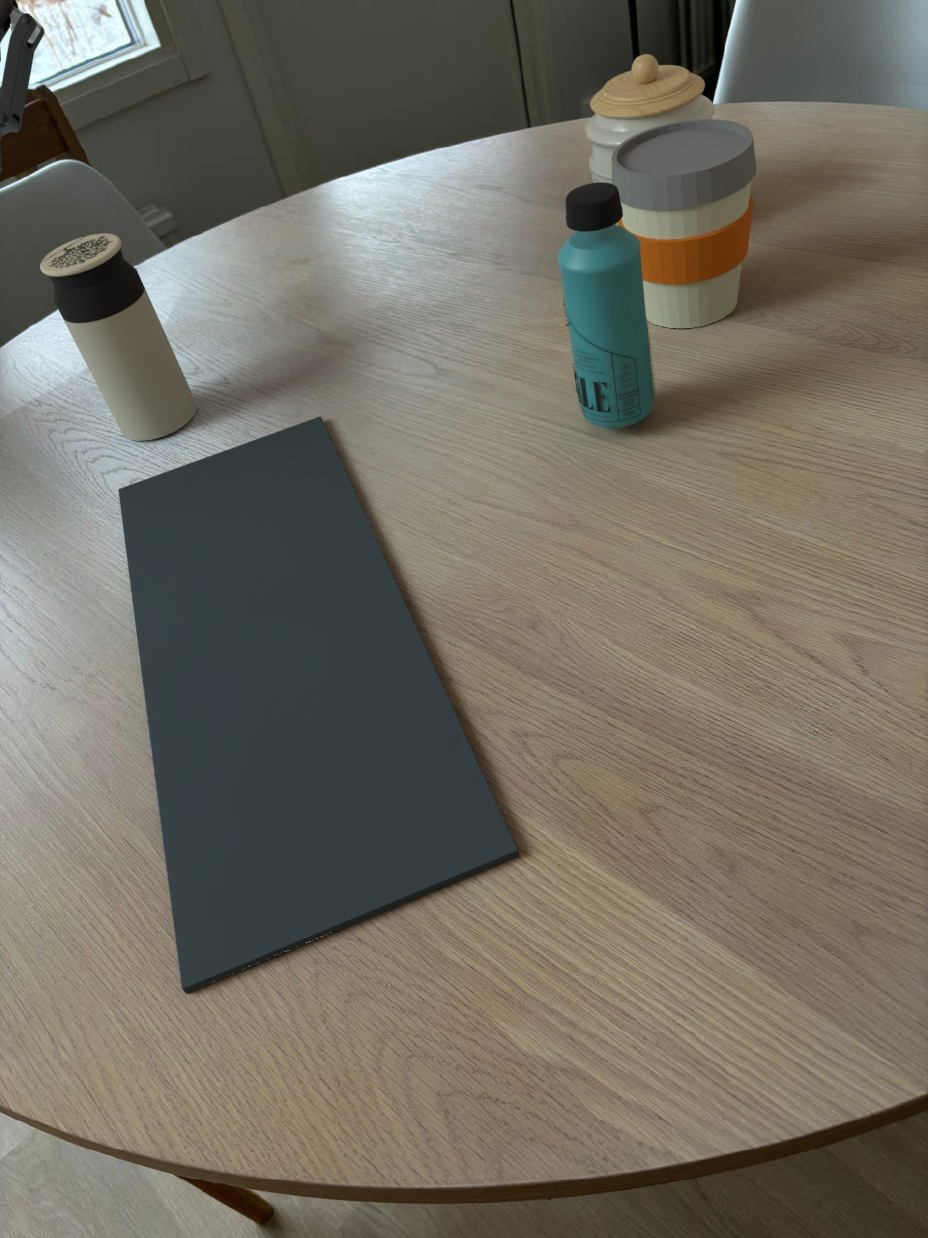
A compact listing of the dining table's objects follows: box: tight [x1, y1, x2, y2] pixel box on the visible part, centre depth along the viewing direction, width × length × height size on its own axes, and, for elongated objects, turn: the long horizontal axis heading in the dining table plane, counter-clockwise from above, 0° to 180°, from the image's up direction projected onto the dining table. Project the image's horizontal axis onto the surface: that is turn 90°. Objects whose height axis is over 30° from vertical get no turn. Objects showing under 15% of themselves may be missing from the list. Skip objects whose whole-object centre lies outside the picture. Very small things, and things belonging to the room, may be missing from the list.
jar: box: [584, 53, 715, 225], centre depth 105 cm, size 13×13×18 cm
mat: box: [117, 416, 520, 994], centre depth 76 cm, size 20×53×1 cm, turn 19°
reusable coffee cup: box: [612, 118, 758, 330], centre depth 93 cm, size 13×13×15 cm
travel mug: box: [39, 232, 198, 441], centre depth 97 cm, size 8×8×18 cm
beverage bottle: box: [557, 182, 657, 429], centre depth 80 cm, size 6×7×20 cm
